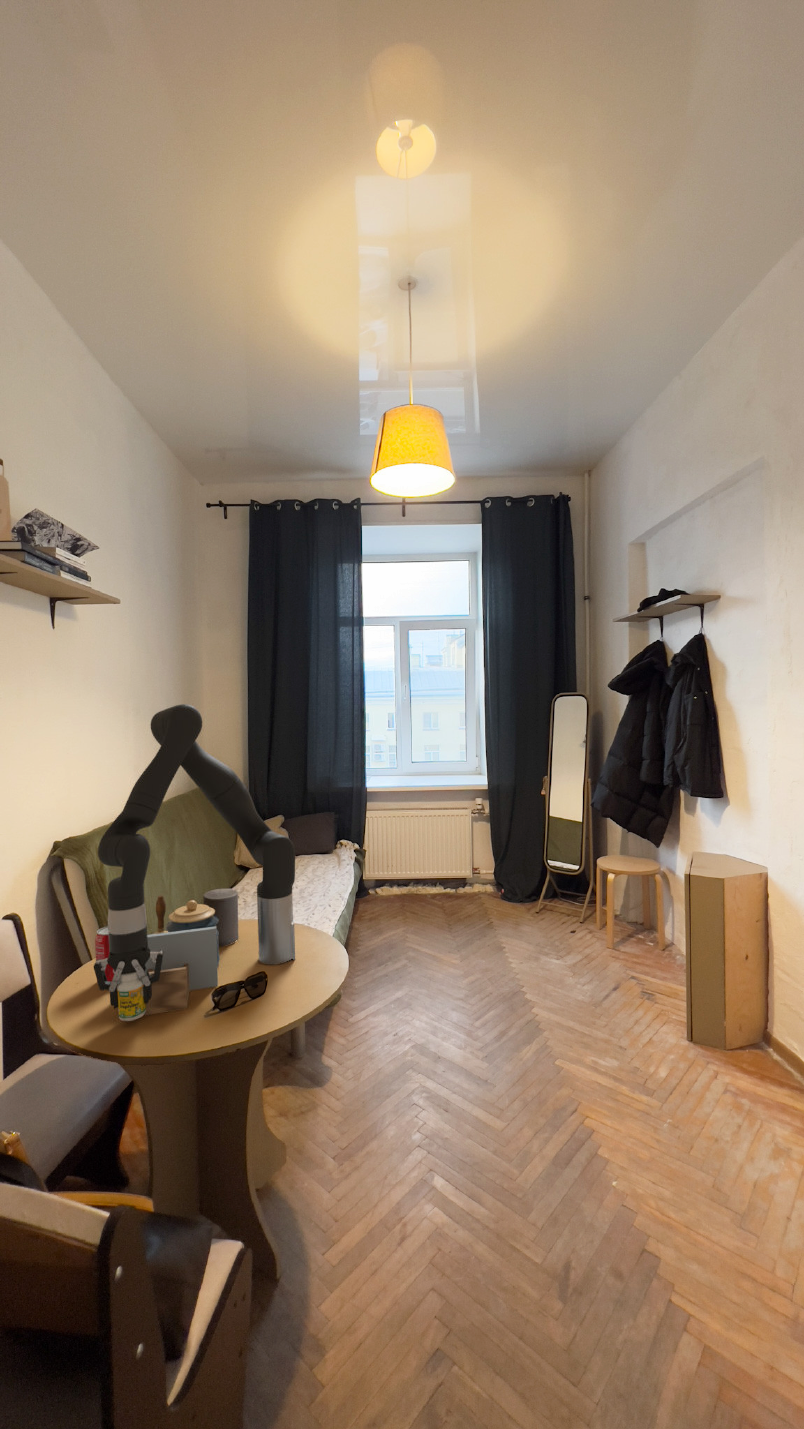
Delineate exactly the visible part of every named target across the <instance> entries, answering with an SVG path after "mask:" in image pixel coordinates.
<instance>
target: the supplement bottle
mask: <svg viewBox="0 0 804 1429" xmlns="http://www.w3.org/2000/svg"><path fill="white" fill-rule="evenodd" d="M120 980H121V981H120V982H119V983H118V985H117V997H118V1008H117V1009H118V1012H117V1013H118V1019H119V1020H121V1021H123V1022H131V1021H135V1020H137V1019H138V1020H139V1019H140V1018H142V1017H143V1016H145V1015H144V1014H145V1012H146V1005H145V1003H144V983H143V981H142V979H141V978H140V977H139V975H138V973H137V972H134V973H129V974H122V975H120Z"/></svg>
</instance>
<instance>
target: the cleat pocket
mask: <svg viewBox="0 0 804 1429" xmlns="http://www.w3.org/2000/svg"><path fill="white" fill-rule="evenodd" d="M148 972H149V974H150V976H151V975H153V974H154V971H153V972H152V969H148ZM189 995H190V990H189V966H188V964H184V967H182V968H175V969H168V970H161V972H160V977H159V981H157V982H154V983H152V996H151V999H150V1000H149V1001H148V1003H145V1005H146V1012H145V1014H144V1015H143V1016H149V1015H156V1014H162V1013H166V1012H167V1013H168V1012H173V1011H181V1010H186V1009H187V1010H188V1006H189V997H190V996H189Z"/></svg>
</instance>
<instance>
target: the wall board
mask: <svg viewBox="0 0 804 1429" xmlns="http://www.w3.org/2000/svg"><path fill="white" fill-rule="evenodd" d="M167 932H168V931H167ZM147 938H148V948H149V949H150V951H151V952H158V951H159V950H163V951H164V954H163V960H162V966H161V970H168V969H175V968H182V967H184V964H188V966H189V991H195V990H202V989H208V988H215V987H219V981H218V980H219V977H218V976H219V975H218V967H217V941H216V927H208V928H200V929H192V930H184V931H176V932H168V933H160V934H155V933H152V934H147ZM145 965H146V967H147V969H152V972H153V971H155V965H156V963H154V962H153V961H152V958H149V959H148V961H147V962H146V964H145ZM120 981H121V980H120V978H119V981H118V983H119V982H120Z"/></svg>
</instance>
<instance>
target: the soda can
mask: <svg viewBox="0 0 804 1429" xmlns="http://www.w3.org/2000/svg"><path fill="white" fill-rule="evenodd" d="M94 941H95V942H94V947H95V948H94V949H95V961H96V960H98V959H101V960H103V959H106V958H108V956H109V933H108V925H107V926H104V927H101V928H99V929H98V930H96V935H95V939H94ZM104 971H105V974H106V978H107V981H109V982H112V980H113V977H114V974H115V972H116V971H115V970H114V969H113V968H112V967H111V966H110V965H109V964H107V965H106V969H105V970H104ZM117 985H118V983H117Z"/></svg>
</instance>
